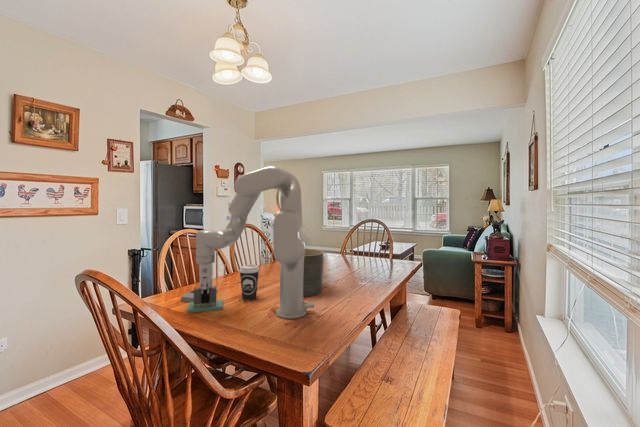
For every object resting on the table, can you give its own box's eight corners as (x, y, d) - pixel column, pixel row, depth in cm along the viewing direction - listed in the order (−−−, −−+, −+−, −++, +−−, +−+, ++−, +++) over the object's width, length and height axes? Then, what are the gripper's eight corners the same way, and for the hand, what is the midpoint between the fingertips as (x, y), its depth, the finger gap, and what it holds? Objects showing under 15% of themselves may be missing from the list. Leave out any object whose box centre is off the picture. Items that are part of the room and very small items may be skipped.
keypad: (180, 294, 137) (200, 285, 152) (180, 302, 138) (200, 292, 152) (199, 295, 135) (217, 286, 150) (199, 304, 136) (217, 294, 150)
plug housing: (216, 299, 133) (216, 285, 133) (216, 302, 130) (216, 288, 129) (194, 301, 131) (194, 286, 130) (193, 304, 127) (193, 289, 127)
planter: (319, 298, 144) (319, 256, 143) (274, 295, 148) (274, 254, 147) (325, 285, 166) (326, 249, 165) (286, 283, 169) (287, 248, 169)
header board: (222, 302, 137) (222, 291, 137) (222, 309, 128) (222, 298, 128) (189, 304, 133) (189, 294, 133) (186, 312, 123) (186, 301, 123)
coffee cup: (263, 297, 144) (263, 266, 143) (246, 302, 137) (246, 269, 136) (252, 293, 150) (252, 263, 150) (235, 297, 144) (235, 266, 143)
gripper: (214, 262, 123) (214, 306, 123) (215, 255, 139) (215, 294, 139) (194, 263, 120) (194, 308, 121) (197, 255, 136) (197, 295, 137)
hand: (205, 300), depth 130 cm, fingers closed on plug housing, 4 cm apart
